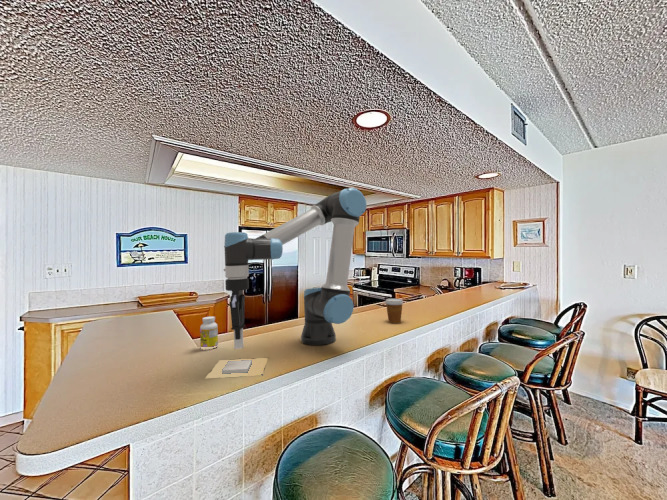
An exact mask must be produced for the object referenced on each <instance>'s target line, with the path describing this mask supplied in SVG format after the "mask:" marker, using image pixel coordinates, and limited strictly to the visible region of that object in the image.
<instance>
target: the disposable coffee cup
mask: <svg viewBox="0 0 667 500" xmlns="http://www.w3.org/2000/svg"><path fill="white" fill-rule="evenodd" d="M384 303H385V304H386V305H385V306H386V312H387V320H388V323H390V324H401V322H402V321H401V320H402V310H403V304H404V301H403V299H402V298H387V299H385V302H384Z"/></svg>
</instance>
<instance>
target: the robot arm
mask: <svg viewBox="0 0 667 500" xmlns="http://www.w3.org/2000/svg"><path fill="white" fill-rule="evenodd" d="M366 210H367V200H366V197H365V196H364V194H363V193H362V191H360V190H359V189H357V188H355V187H350V188H344V189H342V190H339V191H337V192H335V193H332V194H331V193H330V194H329V195H327V196H326V197H324V198H323V199H322V200H320V201H319V202H317V203H314V204H313V205H311V207H310V209H309V210H307V211H305V212H303V213H301V214H300V215H298V216H295V217H293V218H291V219H290V220H288V221H286V222H284V223H282V224H280V225H278V226H277V227H275V228H272V229H271V230H269V231H266V232H265V233H264V234H262V235H260V236H257V237H256V238H251V237H250V238H249V236H248V233H247V232H244V231H243V232H242V231H241V232H240V231H239V232H238V231H237V232H233V231H231V232H227V233H225V235H224V246H223V247H224V265H225V266H224V267H225V268H224V269H223V272H224V273H225V278H226V279H225V280H224V281H225V282H224V283H225V291H229V292H231V296H230V300H229V308H230V318H231V328H230V330H232V331H233V343H234V344H233V346H234V347H233V348H234V350H237V349H238V350H239V349H240V350H242V349H243V348H244V328H246V324H245V299H246V297H245V296H246V295H245V294H244V291H246V290H249V288H250V284H249V283H250V281H249V278H248V277H249V276H250V272H249V271H250V270H249V269H250V268H249V261H254V260H255V261H256V260H278V259H281V257H282V255H283V249H284V248H283V246H284V245H285V244H287V243H289V242H291V241H292V240H295V239H296V238H298V237H299V236H301V235H303V234H305V233H307V232H308V231H311V230H312V229H314V228H316V227H318V226H324V225H326V224H328V223H330V222H331V223H332V224H333V229H332V236H331V242H330V243H331V244H330V250H329V256H328V266H327V273H326V280H325V283H324V284H322V285H321V287H313V288H306V289H305V290H304V293H303V306H304V307H303V308H304V312H303V313H304V325H303V328H302V331H301V335H300V341H302V342H303V343H302V342H301V343H302V344H304V343H305V345H308V344H309V346H325V345H329V344H332V343H335V342H336V340H337V338H336V336H337V335H336V332H335V330H334V326H333V324H335V325H340V324H344V323H345V322H347V321H348V320H350V318H351V316H352V315H353V312H354V302H353V300H352V298H351V297H350V295H351V290H350V287H349V286H348V281H349V274H350V273H349V271H350V266H351V257H352V249H353V242H354V236H355V228H356V226H358V225H359V223H360V217H361V216H363V214H364V213H365V212H366Z"/></svg>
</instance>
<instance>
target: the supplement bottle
mask: <svg viewBox="0 0 667 500" xmlns="http://www.w3.org/2000/svg"><path fill="white" fill-rule="evenodd" d="M215 321H216V316H213V315H212V316H205V317H202V324H201V325H200V326H199V327H200V328H199V336H200V337H199V338H200V340H199V342H200V348H201V347H214V346H217V345H218V346H219V336H218V334H219V331H218V329H219V328H218V323H216V322H215Z"/></svg>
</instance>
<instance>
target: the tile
mask: <svg viewBox="0 0 667 500" xmlns="http://www.w3.org/2000/svg"><path fill="white" fill-rule="evenodd" d="M251 365H252V360H241V361H228V362H227V364H226V365H225V367H224V368H223V369H222V374H231V373H248V371H249V369H250V367H251Z"/></svg>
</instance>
